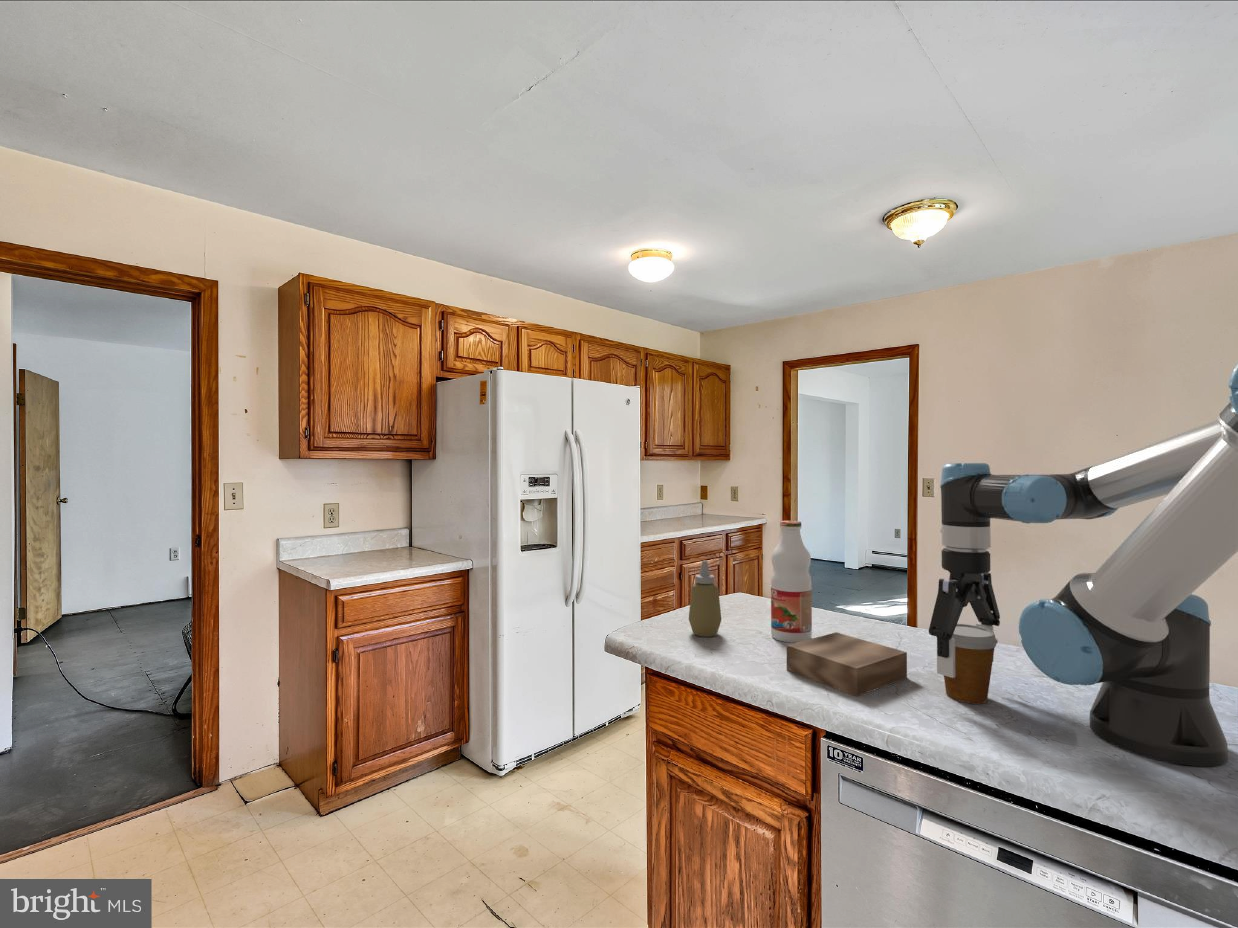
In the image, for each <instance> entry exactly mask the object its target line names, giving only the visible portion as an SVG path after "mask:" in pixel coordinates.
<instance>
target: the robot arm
mask: <svg viewBox="0 0 1238 928" xmlns="http://www.w3.org/2000/svg"><path fill="white" fill-rule="evenodd" d="M1228 388H1229V389H1230V395H1229V402H1228V404H1227V405H1226V406H1225V407H1224V408H1223V410H1222V411H1221V412H1220V413H1219V414H1218V415H1217V419H1216V420H1213V421H1210V422H1208V423H1205V424H1202V425H1199V426H1197V427H1194V428H1191V429H1188V430H1185V431H1183V432H1180V433H1177V434H1175V435H1172V436H1169V437H1167V438H1164V439H1162V440H1158V441H1156V442H1153V443H1150V444H1148V445H1145V446H1143V447H1139V448H1137V449H1135V450H1131V451H1128V452H1126V453H1124V454H1120V455H1118V456H1115V457H1112V458H1109V459H1106V460H1105V461H1102V462H1099V463H1096V464H1093V465H1091V466H1088V467H1085V468H1083V469H1080V470H1077V471H1074V472H1070V473H1057V474H1055V473H1054V474H1053V473H1051V474H992V473H991V467H990V465H989V464H988V463H986V462H957V463H956V462H954V463H953V462H950V463H949V462H948V463H946V464H944V465H943V466H942V469H941V477H940V478H941V479H940V485H939V487H940V497H941V499H940V500H941V501H940V502H941V509H940V510H941V528H940V530H939V531H940V533H941V545H942V546H943V547H944V548H942V550H941V568H942V569H943V570H944V571H947V572H949V578H948V579H946V578H939V579H938V588H937V589H938V590H937V595H936V599H935V603H934V607H933V612H932V616H931V619H930V624H929V628H928V634H929V635H930V636H933V637H935V638H936V673H937V674H938V675H939V674H940V675H942V676H944V675H945V676H948V677H952V678H954V677H955V639H953V638H952V636H953V633H954V631H955V628H956V625H957V623H959V620H960V617H961V615H962V611H963V610H964V608H965V607H967V606H968V605H969V604H970V607H971V609H972V611H973V613H974V614H975V617H976V619H977V621H978V622H977V623H975V626H980V627H983V628H986V629H989V630H991V631H993V632H994V626H996V627H999V626H1000V624H1001V621H1000V619H1001V615H1000V611H999V607H998V603H997V599H996V595H995V592H994V591H995V590H994V587H993V583H992V573H991V572H990V571H991V553H990V551H988V550H989V549H990V548H991V547H992V545H991V544H992V543H991V542H992V540H991V519H996V520H1005V521H1011V522H1012V521H1013V522H1021V523H1023V524H1027V525H1028V524H1049V523H1052V522H1054V521H1057V520H1094V519H1100V518H1106V517H1109V516H1111V515H1113V514H1114V513H1115V512H1117V511H1118V510H1119V509H1120V508H1124V507H1128V506H1131V505H1134V504H1137V503H1142V502H1145V501H1148V500H1151V499H1156V498H1160V497H1162V496H1164V498H1163V499H1162V500H1161V501H1160V502H1159V503H1158V504H1157V505H1156V506H1155V508H1153V509H1152V511H1151V512H1150V513H1149V514H1148V515H1147V516H1146V517H1145V518H1144V519H1143V520H1142V521H1141V522H1140V523H1139V524H1138V526H1137V527H1136V528H1135V529H1134V530H1133V531H1132V532H1131V533H1130V535H1129V536H1127V538H1125V540H1123V542H1122V543H1121V544H1120V545H1119V547H1117V549H1115V551H1114V552H1113V553H1112V554H1111V555H1110V556H1109V557H1108V558H1107V559H1106V560H1105V562H1103V563H1102V564H1101V566H1100V567H1099V568H1098V569H1097V570H1096V571H1095V572H1082V573H1078V574H1076V575H1074V576H1073V577H1072V578H1071V579H1070V580H1069V581H1068V582H1067V583H1066V585H1065V586H1064V587H1062V589H1060V591H1059V592H1058V593H1057V594H1056V595H1055V596H1054V597H1053V598H1050V599H1047V598H1046V599H1045V598H1044V599H1043V598H1042V599H1039V600H1036V601H1034V602H1032V603H1030V604H1028V605H1027V606H1026V607H1025V608H1024V609H1022V611H1021V614H1020V616H1019V620H1018V634H1019V635H1020V638H1021V645H1022V647H1023V650H1024V652H1025V654H1026V655H1027V657H1028V658H1029V660H1030V661H1031V662H1032V664H1033V665H1034V666H1035V667H1036V668H1037V669H1038V670H1039V671H1040V672H1041V673H1042V674H1043V675H1045V676H1046V677H1048V678H1050V680H1053V681H1055V682H1058V683H1061V684H1063V685H1069V686H1094V685H1096V684H1099V683H1100V684H1101V683H1102V684H1101V686H1100V688H1099V690H1098V693H1097V695H1096V696H1095V698H1094V702H1093V703H1092V706H1091V709H1090V711H1089V729H1090V730H1091V732H1092V733H1093V734H1095V735H1096V736H1097V737H1099V738H1100V739H1102V740H1104V741H1105V742H1107V743H1109V744H1110V745H1113V746H1115V747H1117V748H1120V749H1122V750H1125V751H1128V752H1130V753H1133V754H1136V755H1139V756H1142V757H1146V758H1149V759H1153V760H1156V761H1157V760H1158V761H1161V762H1166V763H1171V764H1177V765H1183V766H1184V765H1185V766H1192V767H1193V766H1194V767H1214V766H1216V767H1217V766H1220V765H1223V764H1225V763H1226V762H1227V761H1228V758H1229V756H1228V742H1227V738H1226V736H1225V734H1224V731H1223V729H1222V726H1221V724H1220V722H1219V719H1218V717H1217V715H1216V712H1215V710H1214V708H1213V706H1212V703H1211V699H1210V681H1211V680H1210V679H1211V678H1210V676H1211V675H1210V668H1211V667H1210V665H1211V664H1210V663H1211V662H1210V661H1211V660H1210V652H1211V651H1210V650H1211V649H1210V647H1211V646H1210V645H1211V644H1210V642H1211V641H1210V640H1211V639H1210V638H1211V637H1210V635H1211V634H1210V633H1211V631H1210V630H1211V626H1212V622H1211V620H1210V615H1209V612H1210V611H1209V605H1208V603H1207V601H1205V599H1203V598H1202V597H1200V596H1199V595H1195V594H1193V593H1194V592H1195V591H1196V590H1197V589H1198V588H1199V587H1201V585H1203V584H1204V583H1205V582H1207V580H1208V579H1209V578H1211V577H1212V576H1213V575H1214V574H1215V573H1216V572H1217V571H1218V570H1219V569H1220V568H1221V567H1223V565H1225V564H1226V563H1227V562H1228V561H1229V560H1230V559H1231V558H1232V557H1233V556H1235V554H1237V553H1238V362H1237V363H1236V365H1235V366H1234V368H1233V370H1232V372H1231V374H1230V378H1229V383H1228ZM994 655H995V654H994ZM994 655H993V662H994V657H995V656H994ZM993 662H992V663H993Z"/></svg>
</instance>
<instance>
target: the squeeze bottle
mask: <svg viewBox="0 0 1238 928" xmlns="http://www.w3.org/2000/svg"><path fill="white" fill-rule="evenodd" d="M709 568H710V567H709V562H708V560H702V561H701V566H700V571H699V574H696V575H695V580H694V581H695V583H693V584H692V585H691V591H690V599H689V600H690V602H689V610H688V611H689V612H688V621H689V622H688V623H690V624H689V625H690V627H691V631H692V634H694V635H695V636H699V637H706V638H707V637H714V636H716V635H718V633H719V629H720V626H721V623H722V613H721V611H722V610H721V603H720V602H721V600H720V593H719V586H718V585H717V584H716V583H715V575H714V574H711V573H710V569H709Z"/></svg>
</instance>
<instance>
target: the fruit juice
mask: <svg viewBox="0 0 1238 928" xmlns="http://www.w3.org/2000/svg"><path fill="white" fill-rule="evenodd" d="M779 526H780V529H781V532H780V537H779V540H778V543H777V545H776V546H775V547H774V549H773V550H772V553H771V556H770V557H771V558H770V560H771V564H772V568H773V570H772V573H771V577H770V633H771V636H772V638H773V639H774V640H777V641H779V642H784V643H788V644H789V643H790V644H794V643H797V642H801V641H805V640H809V639H812V635H813V634H812V633H813V631H812V630H813V625H812V624H813V623H812V622H813V619H812V618H813V617H812V613H813V609H812V607H813V606H812V605H813V603H812V601H813V600H812V599H813V597H812V595H813V593H812V591H813V590H812V589H813V587H812V577H811V574H810V566H811V563H812V562H811V560H812V559H811V558H812V557H811V554H810V552H809V550H808V549H807V548H806V546H805V544H804V542H803V538H802V536H801V529H802V521H800V520H781V521H780V522H779Z"/></svg>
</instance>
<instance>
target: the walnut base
mask: <svg viewBox="0 0 1238 928" xmlns="http://www.w3.org/2000/svg"><path fill="white" fill-rule="evenodd" d="M786 671H789V672H791V673H794V674H796V675H799V676H801V677H805V678H807V679H810V680H813V681H815V682H818V683H821V684H823V685H825V686H828V687H832V688H834V689H837V690H839V691H841V692H845V693H847V694H849V695H852V696H855V697H859V696H862V695H864V694H867V693H869V692H868V691H870V692H872V690H873V691H875V690H878V689H880V687H881V688H884V687H886V686H888V685H891V684H894V683H897V682H900V681H903V680H904V679H907V678H908V651H904V650H902V649H901V650H900V649H897V648H893V647H890V646H887V645H882V644H879V643H876V642H872V641H868V640H865V639H861V638H858V637H855V636H851V635H847V634H844V633H840V632H833V633H829V634H825V635H820V636H817V637H813V638H811V639H809V640H805V641H801V642H797V643H790V644H787V645H786ZM877 688H878V689H877ZM874 689H875V690H874ZM861 694H862V695H861Z"/></svg>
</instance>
